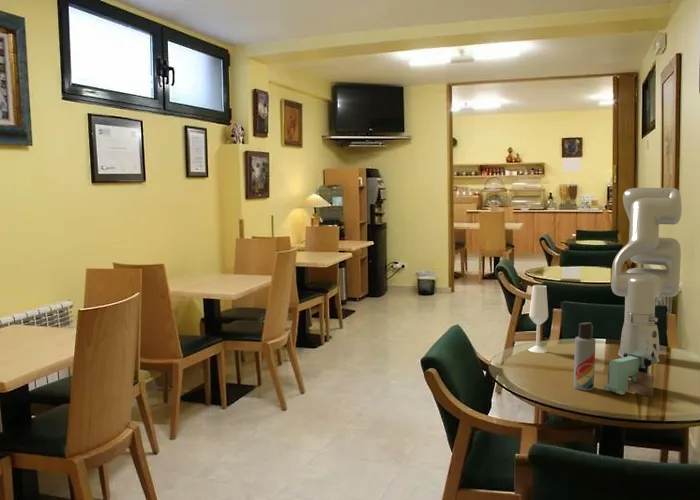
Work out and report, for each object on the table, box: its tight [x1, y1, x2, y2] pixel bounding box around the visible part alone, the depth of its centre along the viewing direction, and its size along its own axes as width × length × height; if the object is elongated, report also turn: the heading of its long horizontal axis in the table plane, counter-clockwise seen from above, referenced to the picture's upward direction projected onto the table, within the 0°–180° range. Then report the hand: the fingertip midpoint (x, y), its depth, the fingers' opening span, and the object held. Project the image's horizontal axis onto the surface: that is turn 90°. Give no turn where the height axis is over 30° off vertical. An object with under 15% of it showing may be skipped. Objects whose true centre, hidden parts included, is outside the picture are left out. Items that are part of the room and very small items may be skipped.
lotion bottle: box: [573, 321, 596, 392], centre depth 185 cm, size 6×6×20 cm
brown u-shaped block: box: [607, 363, 655, 397], centre depth 184 cm, size 14×2×6 cm, turn 30°
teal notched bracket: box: [603, 355, 655, 395], centre depth 183 cm, size 15×6×9 cm, turn 120°
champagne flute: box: [527, 284, 549, 354], centre depth 227 cm, size 7×7×24 cm
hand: (637, 378), depth 186 cm, fingers closed on teal notched bracket, 2 cm apart
